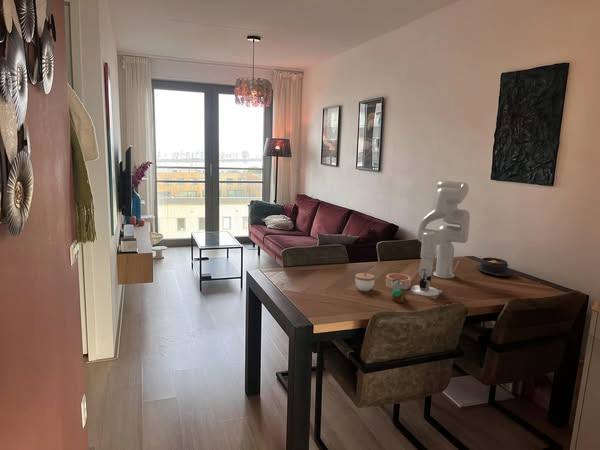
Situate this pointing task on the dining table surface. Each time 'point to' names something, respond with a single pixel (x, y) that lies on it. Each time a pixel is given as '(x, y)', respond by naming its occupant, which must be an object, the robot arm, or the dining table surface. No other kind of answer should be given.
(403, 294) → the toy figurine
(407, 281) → the bowl
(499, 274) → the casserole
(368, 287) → the lidded jar
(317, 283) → the dining table surface
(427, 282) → the lid
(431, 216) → the robot arm
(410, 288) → the mat
